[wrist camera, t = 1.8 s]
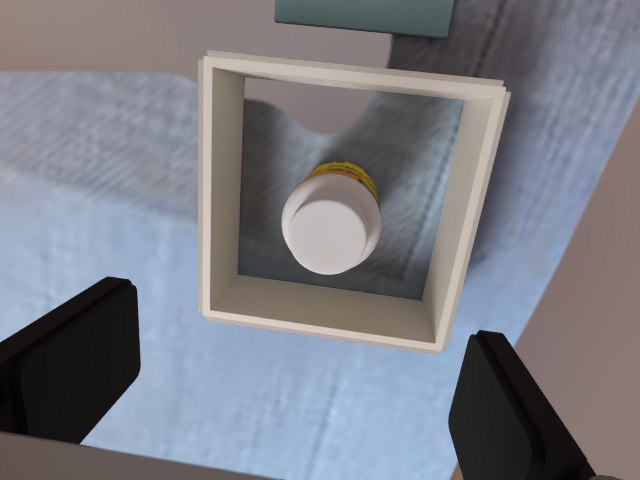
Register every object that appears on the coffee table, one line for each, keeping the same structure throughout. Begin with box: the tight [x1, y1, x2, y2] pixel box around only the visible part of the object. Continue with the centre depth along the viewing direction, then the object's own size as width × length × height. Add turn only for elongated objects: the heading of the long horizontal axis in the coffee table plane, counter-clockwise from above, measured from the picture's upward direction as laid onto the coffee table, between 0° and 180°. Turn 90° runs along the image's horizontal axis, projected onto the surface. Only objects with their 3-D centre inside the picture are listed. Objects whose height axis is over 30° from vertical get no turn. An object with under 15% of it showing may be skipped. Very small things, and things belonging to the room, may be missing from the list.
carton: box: [198, 50, 511, 355], centre depth 25 cm, size 17×17×6 cm
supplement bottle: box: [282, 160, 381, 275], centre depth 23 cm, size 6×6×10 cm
